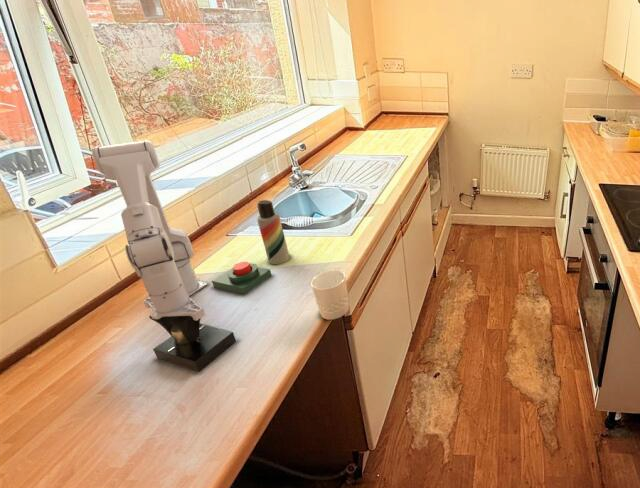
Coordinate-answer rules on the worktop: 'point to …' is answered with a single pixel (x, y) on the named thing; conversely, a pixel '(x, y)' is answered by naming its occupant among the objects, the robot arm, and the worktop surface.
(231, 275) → the button block
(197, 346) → the dial panel
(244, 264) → the button
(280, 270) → the worktop surface
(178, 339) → the dial
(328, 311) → the white cup
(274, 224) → the lotion bottle
